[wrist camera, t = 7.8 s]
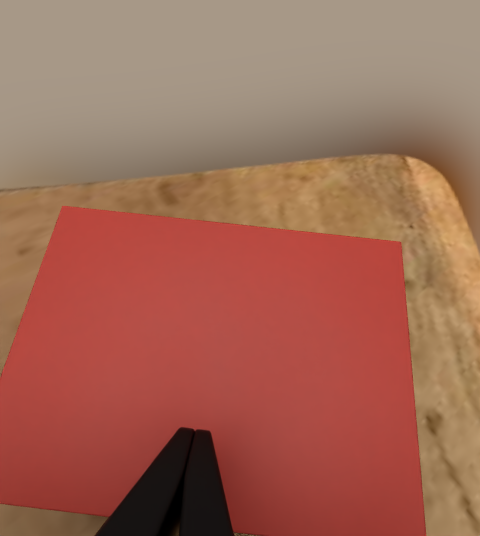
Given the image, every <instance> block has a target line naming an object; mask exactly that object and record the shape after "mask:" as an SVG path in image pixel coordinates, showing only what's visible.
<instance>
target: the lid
mask: <svg viewBox="0 0 480 536" xmlns="http://www.w3.org/2000/svg"><path fill="white" fill-rule="evenodd" d="M180 427H186V428H193V429H194V430H197V429H203V430H209V431H210V432H211V434H212V439H213V443H214V448H215V452H216V457H217V461H218V465H219V470H220V474H221V479H222V483H223V488H224V492H225V497H226V501H227V505H228V510H229V514H230V519H231V523H232V528H233V532H236V533H244V534H252V535H260V536H426V527H425V516H424V504H423V492H422V480H421V469H420V457H419V445H418V434H417V422H416V410H415V399H414V387H413V375H412V363H411V352H410V340H409V328H408V317H407V305H406V293H405V282H404V270H403V258H402V246H401V242H397V241H388V240H379V239H369V238H360V237H350V236H341V235H332V234H322V233H313V232H304V231H294V230H285V229H275V228H266V227H257V226H247V225H238V224H229V223H219V222H210V221H200V220H191V219H182V218H172V217H163V216H154V215H144V214H135V213H125V212H116V211H107V210H97V209H88V208H79V207H69V206H62V209H61V211H60V214H59V217H58V220H57V222H56V225H55V228H54V231H53V233H52V236H51V239H50V242H49V245H48V247H47V250H46V253H45V256H44V258H43V261H42V264H41V267H40V269H39V272H38V275H37V278H36V280H35V283H34V286H33V289H32V292H31V294H30V297H29V300H28V303H27V305H26V308H25V311H24V314H23V316H22V319H21V322H20V325H19V327H18V330H17V333H16V336H15V339H14V341H13V344H12V347H11V350H10V352H9V355H8V358H7V361H6V363H5V366H4V369H3V372H2V374H1V377H0V504H7V505H15V506H23V507H31V508H39V509H48V510H56V511H64V512H72V513H80V514H88V515H97V516H105V517H110V515H111V514H112V513H113V512H114V510H115V509H116V508H117V507H118V505H119V504H120V503H121V501H122V500H123V499H124V498H125V496H126V495H127V494H128V492H129V491H130V490H131V489H132V487H133V486H134V485H135V484H136V482H137V481H138V480H139V478H140V477H141V476H142V475H143V473H144V472H145V471H146V469H147V468H148V467H149V466H150V464H151V463H152V462H153V461H154V459H155V458H156V457H157V455H158V454H159V453H160V452H161V450H162V449H163V448H164V447H165V445H166V444H167V443H168V441H169V440H170V439H171V438H172V436H173V435H174V434H175V432H176V431H177V430H178V429H179V428H180Z"/></svg>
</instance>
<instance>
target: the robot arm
mask: <svg viewBox="0 0 480 536" xmlns="http://www.w3.org/2000/svg"><path fill="white" fill-rule="evenodd" d="M178 535H179V536H234V532H233V528H232V523H231V519H230V514H229V510H228V505H227V501H226V497H225V492H224V488H223V483H222V479H221V474H220V470H219V465H218V461H217V457H216V452H215V448H214V443H213V439H212V434H211V432H210V431H209V430H203V429H197V430H194V429H193V428H186V427H180V428H179V429H178V430H177V431H176V432H175V434H174V435H173V436H172V438H171V439H170V440H169V441H168V443H167V444H166V445H165V447H164V448H163V449H162V450H161V452H160V453H159V454H158V455H157V457H156V458H155V459H154V461H153V462H152V463H151V464H150V466H149V467H148V468H147V469H146V471H145V472H144V473H143V475H142V476H141V477H140V478H139V480H138V481H137V482H136V484H135V485H134V486H133V487H132V489H131V490H130V491H129V492H128V494H127V495H126V496H125V498H124V499H123V500H122V501H121V503H120V504H119V505H118V507H117V508H116V509H115V510H114V512H113V513H112V514H111V515H110V517H109V518H108V519H107V521H106V522H105V523H104V524H103V526H102V527H101V528H100V530H99V531H98V532H97V533H96V535H95V536H178Z"/></svg>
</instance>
